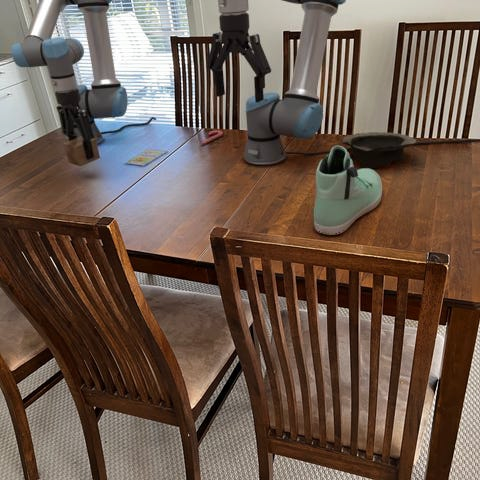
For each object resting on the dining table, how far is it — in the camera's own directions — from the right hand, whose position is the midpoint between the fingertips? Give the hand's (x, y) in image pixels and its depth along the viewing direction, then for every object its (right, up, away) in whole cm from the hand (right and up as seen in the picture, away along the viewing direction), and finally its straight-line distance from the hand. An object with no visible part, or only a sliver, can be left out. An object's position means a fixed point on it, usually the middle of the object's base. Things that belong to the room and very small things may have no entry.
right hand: (239, 98), depth 131 cm
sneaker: (+32, -30, +8) cm, 44 cm away
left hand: (-55, -9, +36) cm, 66 cm away
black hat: (+48, -10, +37) cm, 62 cm away
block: (-55, -11, +37) cm, 67 cm away
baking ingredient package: (-36, -7, +53) cm, 65 cm away
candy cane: (-12, +3, +66) cm, 67 cm away
